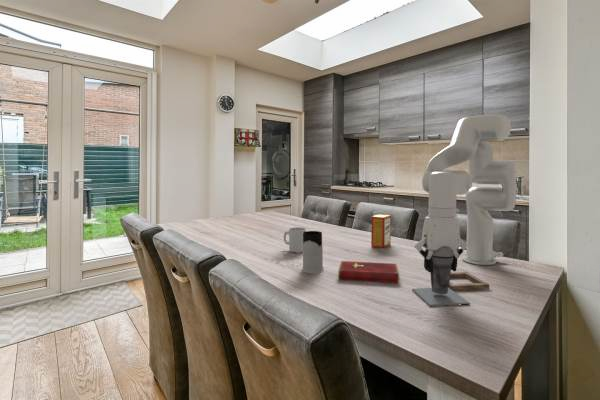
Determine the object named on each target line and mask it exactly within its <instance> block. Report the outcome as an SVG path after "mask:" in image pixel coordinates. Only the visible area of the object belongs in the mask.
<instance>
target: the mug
mask: <svg viewBox="0 0 600 400" xmlns="http://www.w3.org/2000/svg"><path fill="white" fill-rule="evenodd" d="M306 231H307V228H306V227H298V226H297V227H296V226H295V227H290V228H288V230H286V231H284V233H283V242H284V244H286V245H288V246H289V247H288V249H289V252H290V251H291V252H290V253H292V252H296V253H295V254H301V253H300V252H303V232H306ZM287 235H288V241H287Z"/></svg>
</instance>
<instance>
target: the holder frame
mask: <svg viewBox="0 0 600 400" xmlns="http://www.w3.org/2000/svg"><path fill="white" fill-rule="evenodd" d="M454 278H455V279H458V278H459V279H460V278H461V279H463V278H465V279H467V280H468V281H470V282H472V283H453V282H451V281H449V288H450V289H451V290H452V291H469V290H470V291H471V290H473V289H474V290H475V289H476V290H490V283H487V282H485V281H484V280H482V279H481V278H479V277H477V276H475V275H473V274H471V273H469V272H467V271H453V272H452V271H451V274H450V279H454Z"/></svg>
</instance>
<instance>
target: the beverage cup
mask: <svg viewBox="0 0 600 400" xmlns="http://www.w3.org/2000/svg"><path fill="white" fill-rule="evenodd" d="M453 257H454V254H453V250H452V249H451V248H450V247H448V246H442V247H440V248H438V249H437V250H436V251H433V254H432V256H431V260H432V272H429V273H430V285H431V288H432V291H433V292H434V293H438V294H447V293H448V288H449V281H450V280H451V278H450V274H451V272H452V270H451V266H452V262H453ZM450 282H451V281H450Z"/></svg>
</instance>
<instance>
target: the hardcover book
mask: <svg viewBox="0 0 600 400" xmlns="http://www.w3.org/2000/svg"><path fill="white" fill-rule="evenodd" d="M337 275H338V280H339V281H340V280H341V281H354V282H367V283H368V282H370V283H386V284H399V285H400V271H399V269H398V265H397V263H390V262H389V263H388V262H371V261H369V262H368V261H355V260H354V261H353V260H352V261H351V260H341V262H340V264H339V267H338V274H337Z"/></svg>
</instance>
